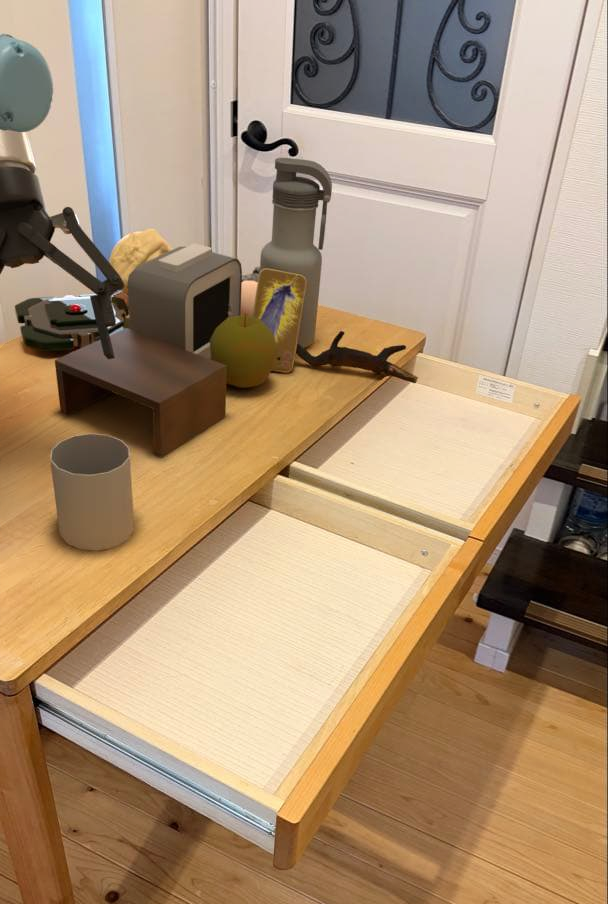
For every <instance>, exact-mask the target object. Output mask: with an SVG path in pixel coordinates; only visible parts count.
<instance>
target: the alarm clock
mask: <svg viewBox="0 0 608 904" xmlns="http://www.w3.org/2000/svg"><path fill="white" fill-rule="evenodd" d="M242 275H243V270H242V263H241V261H240V260H239V259H238V258H237V257H232V256H228V255H225V254H221V253H217V252H213V248H212V247H210V246H206V245H202V244H199V243H196V242H195V243H191V244H190V245H188V246H177V247H176V248H174V249H173V248H172V250H171V251H169V252H167V253H165V254H162V255H160V256H158V257H156V258H154V259H152V260H149V261H147V262H145V263H143V264H141V265H139V266H137V267H136V268H135V269H134V270H133V271H132V272H131V273H130V274H129V278H128V283H127V284H128V296H127V300H128V301H127V302H128V303H127V304H128V308H129V315H128V318H129V322H130V330H133V331H136V332H138V333H141V334H144V335H146V336H149V337H152V338H154V339H157V340H160V341H162V342H165V343H168V344H171V345H173V346H176V347H179V348H181V349H184V350H187V351H189V352H192V353H195V354H197V355H200V356H203V357H205V358H208V359H211V351H210V339H211V337H212V335H213V333H214V331H215V329H216V328H217V327H218V326H219V325H220V324H221V323H222V322H223V321H225V320H226V319H227V317H228V315H227V312H228V309H229V307H228V303H229V305H230V306H231V308H232V309H231V316H240V314H241V285H242ZM231 316H230V317H231Z"/></svg>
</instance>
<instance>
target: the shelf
mask: <svg viewBox="0 0 608 904" xmlns="http://www.w3.org/2000/svg"><path fill="white" fill-rule="evenodd" d="M110 340H111V344H112V348H113V353H114V357H115V358H113V359H107V358H106V357H105V355H104V353H103V349H102V344H101V340H99V341H96V342H94V343H92V344H90V345H88V346H85V347H83V348H79V349H76V350H74V351H72V352H69V353H68V354H65V355H62V357H61V356H60V357H59V358H56V359H55V360H54V368H55V374H56V385H57V392H58V402H59V409H60V410H59V412H60V414H62V415H64V416H70V415H72V414H73V413H76V412H77V411H79V410H81V409H83V408H85V407H87V406H89V405H91V404H92V403H94V402H96V401H99V400H100V399H102V398H104V397H106V396H108V395H110V394H112V393H114V394H116V395H119V396H121V397H124V398H126V399H129V400H131V401H133V402H136V403H137V404H141V405H143V406H146V407H147V408H148V407H149V408H150V409H152V424H153V425H152V426H153V445H154V446H153V451H154V454H153V455H154V456H156V457H159V458H163V457H165V456H166V455H168V454H169V453H171V452H173V451H175V450H176V449H177V448H178V447H180V446H182V445H183V444H185V443H187V442H188V441H189V440H191V439H194V438H195V437H197V436H198V435H199V434H201V433H202V432H204V431H206V430H207V429H209V428H210V427H212V426H214V425H215V424H217V423H218V422H220V421H222V420H223V419H224V418H226V410H227V409H226V407H227V383H226V373H227V366H226V365H224V364H221V363H219V362H216V361H213V360H211V359H208V358H205V357H203V356H200V355H197V354H195V353H192V352H189V351H187V350H184V349H181V348H179V347H176V346H173V345H171V344H168V343H165V342H162V341H160V340H157V339H154V338H152V337H149V336H146V335H144V334H141V333H138V332H136V331H133V330H130V329H128V328H125V329H123V330H121V331H119V332H117V333H114V334H112V335H110Z"/></svg>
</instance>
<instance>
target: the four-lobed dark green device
mask: <svg viewBox="0 0 608 904" xmlns="http://www.w3.org/2000/svg"><path fill="white" fill-rule="evenodd" d="M94 295H97V294H95V293H94V294H79V295H78V296H77V297H76V296H74V295H72V294H71V295H64V296H63V297H59V298H58V297H57V296H44V297H43V296H42V297H41V296H40V297H31V298H27V299H25V300H23V301H21V302H19V303H17V304H15V305H14V312H15V316H16V320H17V323H18V324H23V325H21V326H20V327H19V328H20V335H21V339H22V342H23V345H24V346H26V347H28V348H32V349H36V350H39V351H43V352H55V351H66V350H67V351H68V350H73V349H75V347H79V349H81V348H83V347H85V346H88V345H90V344H92V343H94V342H96V341H99V340H100V336H99V332H98V328H97V324H96V319H95V315H94V311H93V307H92V303H91V299H90V296H94ZM111 302H112V306H113V310H114V315H115V319H116V324H115V326H111V327H108V332H109V336H110V335H112V334H114V333H117V332H119V331H121V330H123V329H125V328H128V329H130V322H129V305H127V304H128V303H127V302H126V299H124V298H122V297H119V296H114V295H112V296H111ZM127 317H128V318H127Z"/></svg>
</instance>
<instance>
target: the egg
mask: <svg viewBox="0 0 608 904" xmlns="http://www.w3.org/2000/svg"><path fill="white" fill-rule="evenodd" d="M257 284H258V282H255V281H243V282H242V285H241V314H240V315H241V316H245V314H246V316H250V317H253V310H254V304H255V297H256V290H257Z"/></svg>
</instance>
